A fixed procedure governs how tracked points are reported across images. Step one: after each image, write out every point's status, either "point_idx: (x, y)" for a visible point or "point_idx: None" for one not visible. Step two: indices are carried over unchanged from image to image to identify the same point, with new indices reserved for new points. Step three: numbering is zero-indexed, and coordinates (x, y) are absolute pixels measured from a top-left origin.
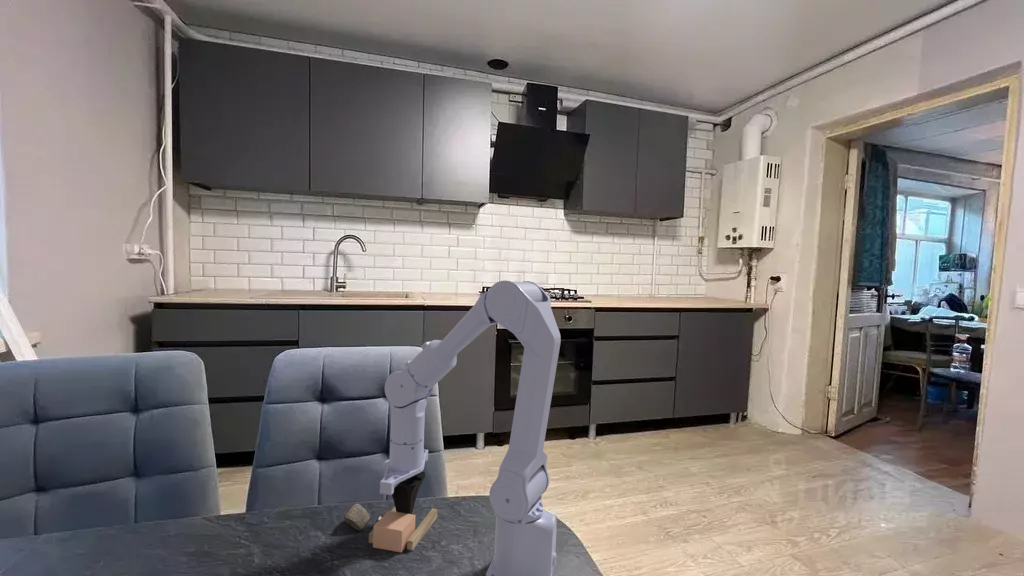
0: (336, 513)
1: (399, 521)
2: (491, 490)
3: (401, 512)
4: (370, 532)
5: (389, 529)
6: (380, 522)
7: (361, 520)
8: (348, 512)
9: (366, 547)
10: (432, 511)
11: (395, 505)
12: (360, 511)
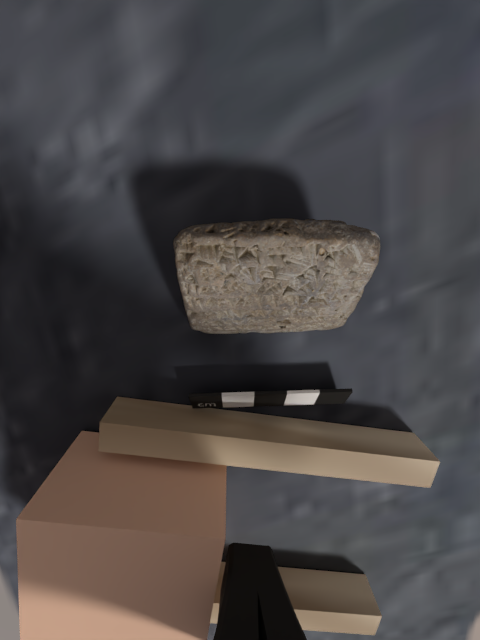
0: (384, 84)
1: (108, 627)
2: None
3: (222, 600)
4: (112, 426)
5: (24, 597)
6: (67, 542)
7: (239, 323)
8: (226, 242)
9: (80, 400)
10: (353, 622)
11: (219, 622)
12: (302, 298)
